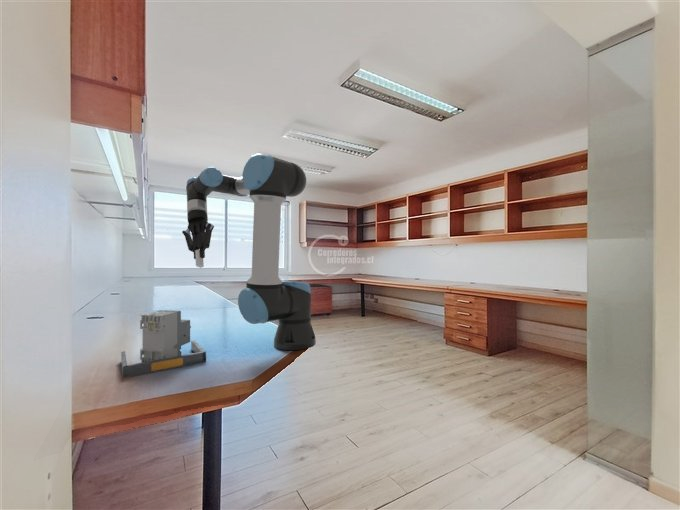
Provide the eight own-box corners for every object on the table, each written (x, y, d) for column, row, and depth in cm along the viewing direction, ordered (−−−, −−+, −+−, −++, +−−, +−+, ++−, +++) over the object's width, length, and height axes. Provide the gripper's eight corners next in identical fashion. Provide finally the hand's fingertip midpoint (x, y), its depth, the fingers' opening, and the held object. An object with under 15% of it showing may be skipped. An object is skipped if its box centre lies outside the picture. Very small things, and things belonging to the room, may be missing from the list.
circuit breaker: (193, 351, 106) (193, 307, 106) (161, 366, 92) (161, 315, 92) (174, 350, 107) (174, 307, 107) (140, 364, 93) (139, 314, 93)
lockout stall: (206, 361, 95) (206, 352, 95) (123, 378, 83) (122, 367, 83) (194, 348, 109) (194, 340, 109) (121, 361, 96) (121, 351, 96)
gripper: (217, 212, 130) (220, 264, 122) (189, 220, 132) (190, 272, 124) (206, 204, 123) (209, 259, 115) (177, 213, 125) (178, 267, 117)
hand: (199, 266), depth 120 cm, fingers closed
